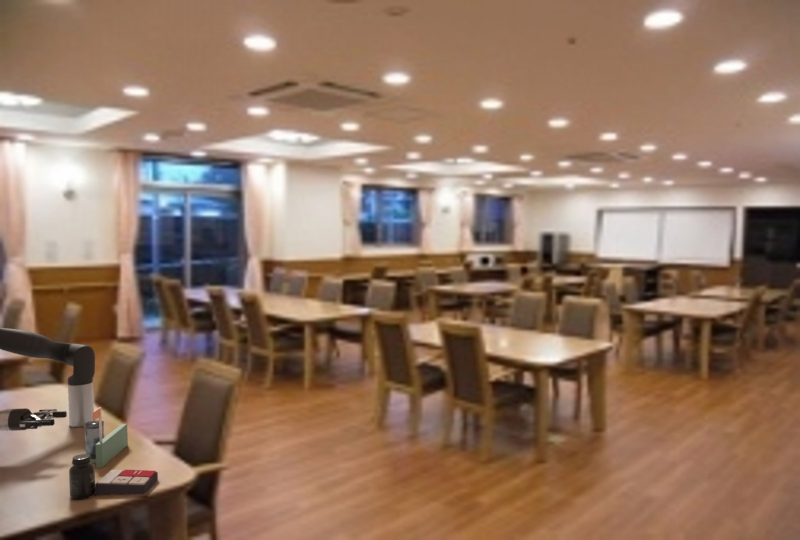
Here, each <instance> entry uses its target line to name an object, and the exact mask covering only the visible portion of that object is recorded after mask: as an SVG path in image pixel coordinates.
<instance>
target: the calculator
mask: <svg viewBox="0 0 800 540" xmlns="http://www.w3.org/2000/svg"><path fill="white" fill-rule="evenodd" d="M158 476H159V473H158V471H156V470H144V469H124V470H123V469H111V470H110V471H108V472H107V473H106V474H104V476H103V477H102V478H101V479H99V480H98V481H97V482H95V494H94V495H95V496H99V495H101V496H103V495H105V496H107V495H145V494H147V492H148V491H149V490H150V489H151V488H152V486H154V485H155V484H156V483H157V481H158V478H159V477H158Z"/></svg>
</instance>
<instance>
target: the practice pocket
mask: <svg viewBox="0 0 800 540" xmlns="http://www.w3.org/2000/svg"><path fill="white" fill-rule="evenodd" d="M102 419H103V416H102V407H98V408H96V409H94V412H93V421H95V420H99V434H100V441H99V442H98V443H97V444H95V446H96V459H91V462H90V463H92V464H95V468H96V469H98V468H104V467H105V465H107V464H108V463H109V462H111V461H112V459H114V458H116V456H117V455H118V454H120V452H121V451H123V450H124V449H125V448H126V447H127V446H128V445H129V443H128V442H129V441H128V438H129V437H128V436H129V435H128V423H121V424H120V425H119V426H118V427H116V428H115V429H114V430H112V431H111V432H110V433H108V434H107V435H106V436H104V438H103V439H102V421H103V420H102ZM72 462H73V459H72V460H71V463H72Z"/></svg>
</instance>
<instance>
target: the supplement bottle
mask: <svg viewBox="0 0 800 540" xmlns="http://www.w3.org/2000/svg"><path fill="white" fill-rule="evenodd" d="M72 460H73V462H72V461H71V464H72V466H71V467H70V468H69V471H68V477H69V478H68V479H69V480H68V481H69V497H70V499H71V500H74V501H83V500H86V499H89V498H91V497H94V495H95V484H96V469H95V468H96V466H95V465H94V463H90V462H91V456H90V455H89V454H86V453H82V454H81V453H80V454H77V455H75V456H73V457H72Z"/></svg>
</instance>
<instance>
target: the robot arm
mask: <svg viewBox="0 0 800 540" xmlns="http://www.w3.org/2000/svg"><path fill="white" fill-rule="evenodd" d="M0 350H1V351H4V352H8V353H11V354H16V355H19V356H23V357H28V358H34V359H35V358H36V359H49V360H53V361H55V362H60V363H61V364H65V365H68V366H71V367H72V369H73V371H72V374H71V375H70V376H68V378H67V395H68V396H67V397H68V398H67V399H68V400H67V401H68V412H67V411H65V410H59V411H58V409H57V408H45V409H39V410H38V411H34V412H31V410H30V409H29V408H27V407H25V408H6V409H0V431H4V432H8V431H9V432H10V431H11V432H13V431H26V430H36V429H39V428H42V427H51V426H53V427H54V425H55V419H58V418H59V419H61V418H62V419H64V418H67V416H68V423H69V425H68V426H69V427H71V428H81V427H84V424H85V423H87V422H90V421H93V412H94V411H95V405H94V403H95V402H94V401H95V400H94V377H95V375H96V374H95V373H96V353H95V350H94V348H93V347H92V346H90V345H87V344H80V343H68V342H62V341H57V340H53V339H51V338H50V337H47V336H45V335H43V334H39V333H36V332H33V331H29V330H28V331H27V330H22V329H14V328H7V327H5V328H4V327H0ZM67 413H68V414H67Z"/></svg>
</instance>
